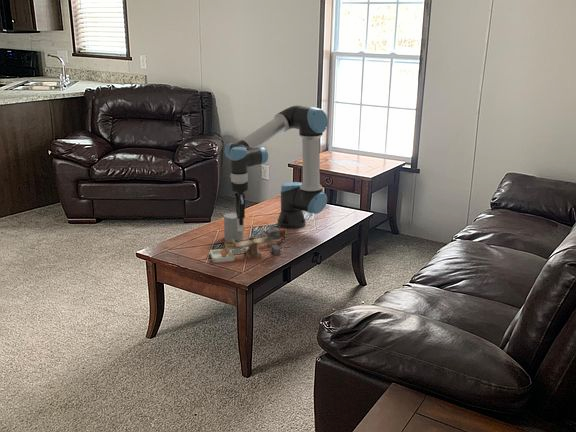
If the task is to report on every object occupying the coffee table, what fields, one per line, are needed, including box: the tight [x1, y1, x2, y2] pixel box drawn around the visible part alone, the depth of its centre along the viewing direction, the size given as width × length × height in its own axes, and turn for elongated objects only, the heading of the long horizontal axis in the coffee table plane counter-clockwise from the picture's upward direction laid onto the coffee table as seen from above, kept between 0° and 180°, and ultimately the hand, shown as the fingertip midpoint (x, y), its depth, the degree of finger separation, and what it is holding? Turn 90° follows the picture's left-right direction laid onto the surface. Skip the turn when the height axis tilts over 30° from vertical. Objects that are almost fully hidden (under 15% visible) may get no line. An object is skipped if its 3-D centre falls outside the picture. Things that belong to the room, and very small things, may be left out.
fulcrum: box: [244, 236, 262, 259], centre depth 275 cm, size 6×8×7 cm
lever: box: [224, 227, 282, 251], centre depth 273 cm, size 26×6×5 cm, turn 105°
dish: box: [209, 248, 235, 264], centre depth 272 cm, size 10×11×2 cm
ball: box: [220, 248, 228, 256], centre depth 272 cm, size 4×4×4 cm
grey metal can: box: [223, 211, 244, 243], centre depth 294 cm, size 10×10×12 cm
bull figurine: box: [259, 227, 287, 246], centre depth 289 cm, size 4×13×8 cm, turn 113°
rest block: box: [270, 244, 282, 256], centre depth 278 cm, size 3×6×2 cm, turn 16°
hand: (240, 230), depth 271 cm, fingers closed
